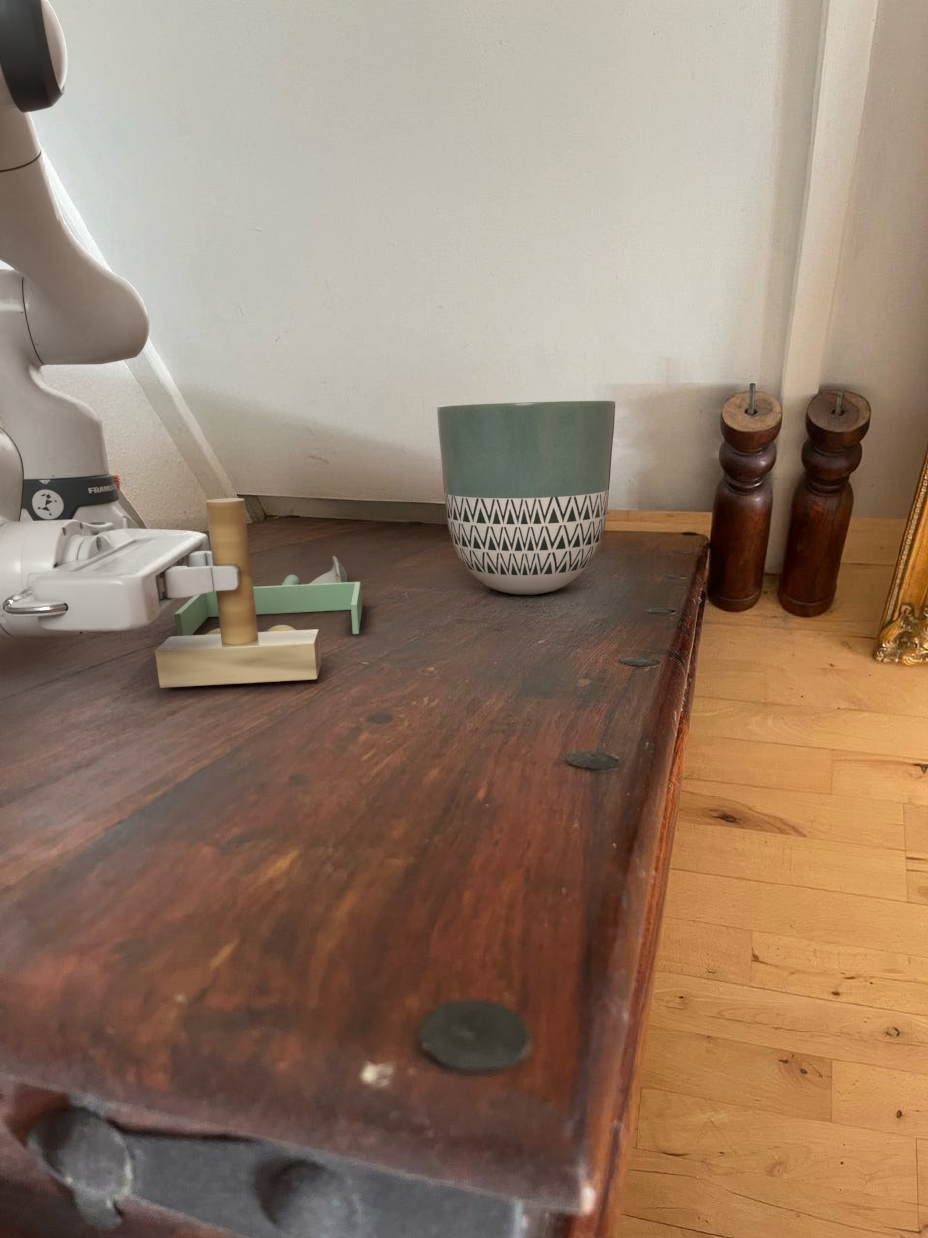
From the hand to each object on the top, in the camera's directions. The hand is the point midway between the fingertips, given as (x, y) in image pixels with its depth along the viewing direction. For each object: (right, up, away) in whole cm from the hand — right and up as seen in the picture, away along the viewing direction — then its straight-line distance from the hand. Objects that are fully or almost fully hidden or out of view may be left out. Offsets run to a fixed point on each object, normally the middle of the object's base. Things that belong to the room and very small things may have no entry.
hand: (244, 570), depth 58 cm
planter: (+25, -1, +31) cm, 40 cm away
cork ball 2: (+2, -6, +6) cm, 8 cm away
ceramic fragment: (+1, 0, +35) cm, 35 cm away
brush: (-1, -8, +2) cm, 9 cm away
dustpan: (-3, -3, +24) cm, 24 cm away
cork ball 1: (-3, -6, +5) cm, 9 cm away
